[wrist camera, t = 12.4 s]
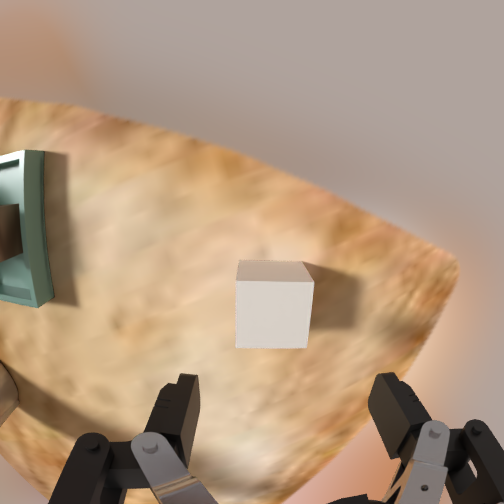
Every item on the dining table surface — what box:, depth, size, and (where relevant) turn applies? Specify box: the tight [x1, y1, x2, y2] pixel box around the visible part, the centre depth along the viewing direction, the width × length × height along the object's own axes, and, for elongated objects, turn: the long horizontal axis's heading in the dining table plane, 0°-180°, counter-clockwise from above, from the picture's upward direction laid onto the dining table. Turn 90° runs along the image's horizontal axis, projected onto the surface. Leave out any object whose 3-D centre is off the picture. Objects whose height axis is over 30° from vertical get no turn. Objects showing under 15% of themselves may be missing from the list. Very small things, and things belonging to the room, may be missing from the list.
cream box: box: [236, 260, 314, 348], centre depth 21 cm, size 5×5×5 cm
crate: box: [0, 150, 54, 308], centre depth 20 cm, size 14×11×3 cm
